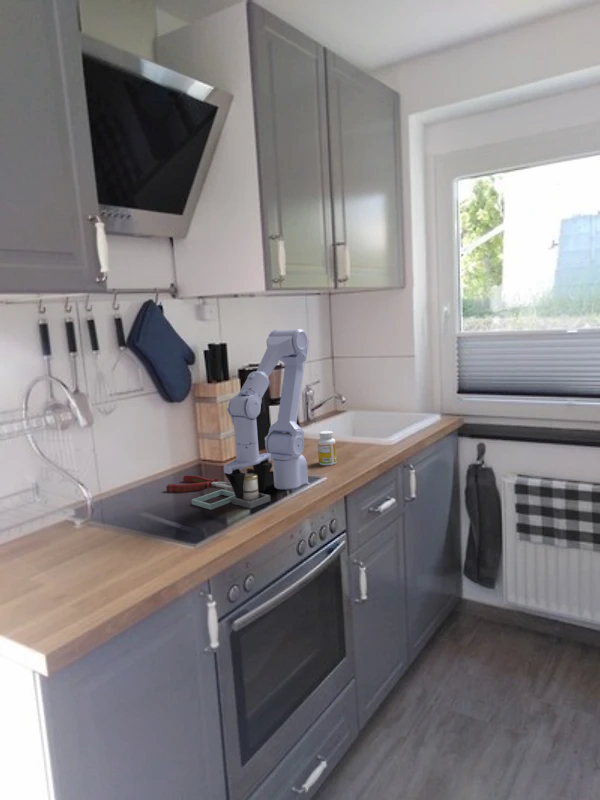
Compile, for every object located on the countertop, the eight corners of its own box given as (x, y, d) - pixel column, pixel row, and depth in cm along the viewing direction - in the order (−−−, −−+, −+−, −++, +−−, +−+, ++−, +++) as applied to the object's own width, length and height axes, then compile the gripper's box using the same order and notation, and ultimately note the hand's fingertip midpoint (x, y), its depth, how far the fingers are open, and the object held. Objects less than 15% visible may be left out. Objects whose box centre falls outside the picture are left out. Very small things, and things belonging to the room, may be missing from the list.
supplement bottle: (329, 460, 189) (328, 429, 188) (340, 463, 185) (338, 431, 183) (315, 463, 186) (313, 432, 185) (325, 466, 182) (323, 434, 180)
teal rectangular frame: (222, 496, 158) (221, 489, 158) (241, 501, 153) (240, 493, 153) (192, 507, 151) (191, 499, 151) (210, 512, 146) (210, 504, 145)
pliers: (228, 497, 159) (227, 487, 158) (165, 493, 166) (164, 484, 165) (245, 485, 169) (245, 476, 169) (186, 482, 176) (185, 474, 176)
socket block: (252, 498, 154) (251, 491, 154) (270, 503, 150) (270, 495, 149) (232, 506, 149) (231, 498, 149) (250, 511, 145) (250, 503, 144)
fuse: (251, 498, 152) (249, 472, 151) (262, 501, 149) (260, 474, 148) (240, 502, 149) (237, 476, 148) (250, 505, 147) (248, 478, 145)
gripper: (256, 435, 155) (260, 484, 157) (214, 446, 144) (218, 499, 147) (275, 437, 150) (279, 488, 152) (233, 449, 140) (237, 504, 142)
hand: (250, 494), depth 149 cm, fingers open, 7 cm apart
